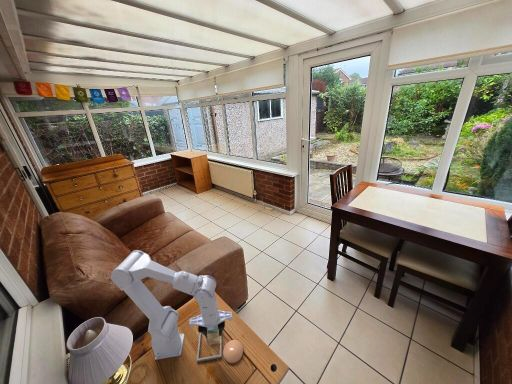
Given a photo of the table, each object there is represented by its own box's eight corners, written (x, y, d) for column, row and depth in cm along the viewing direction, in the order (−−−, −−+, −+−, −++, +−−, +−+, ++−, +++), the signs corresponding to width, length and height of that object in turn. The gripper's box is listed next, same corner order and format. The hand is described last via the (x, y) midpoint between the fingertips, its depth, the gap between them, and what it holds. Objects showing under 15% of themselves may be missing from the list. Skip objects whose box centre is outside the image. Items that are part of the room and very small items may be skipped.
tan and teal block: (209, 344, 74) (206, 334, 71) (209, 333, 77) (207, 323, 75) (220, 342, 74) (218, 332, 72) (220, 331, 78) (218, 321, 76)
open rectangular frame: (196, 362, 75) (196, 360, 75) (201, 323, 89) (200, 322, 88) (221, 357, 76) (221, 356, 76) (222, 320, 90) (221, 319, 89)
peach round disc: (223, 365, 74) (223, 363, 74) (223, 343, 81) (223, 341, 81) (243, 361, 75) (243, 359, 75) (242, 339, 82) (242, 338, 82)
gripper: (185, 323, 65) (192, 349, 71) (230, 316, 67) (234, 342, 72) (189, 304, 72) (195, 329, 77) (230, 297, 73) (233, 323, 79)
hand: (214, 334), depth 75 cm, fingers closed on tan and teal block, 4 cm apart
